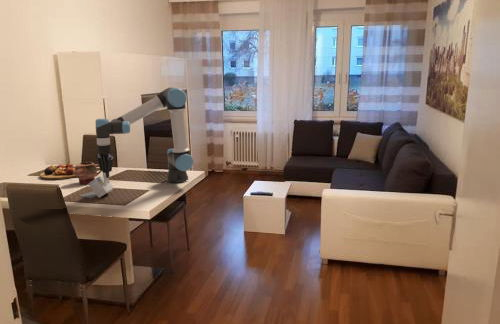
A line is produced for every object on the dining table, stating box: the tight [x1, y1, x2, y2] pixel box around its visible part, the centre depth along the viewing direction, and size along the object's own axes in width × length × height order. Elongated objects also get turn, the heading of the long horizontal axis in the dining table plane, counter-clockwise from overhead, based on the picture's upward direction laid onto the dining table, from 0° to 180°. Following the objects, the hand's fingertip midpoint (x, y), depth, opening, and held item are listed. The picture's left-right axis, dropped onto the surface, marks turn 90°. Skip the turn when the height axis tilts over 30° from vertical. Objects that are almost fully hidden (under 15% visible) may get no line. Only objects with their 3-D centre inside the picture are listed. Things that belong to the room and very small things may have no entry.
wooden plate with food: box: [39, 163, 78, 181], centre depth 288 cm, size 32×32×8 cm
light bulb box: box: [88, 174, 115, 198], centre depth 234 cm, size 11×7×11 cm
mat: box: [78, 189, 115, 199], centre depth 241 cm, size 11×18×1 cm, turn 152°
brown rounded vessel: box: [73, 161, 102, 185], centre depth 265 cm, size 20×12×14 cm, turn 138°
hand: (106, 182), depth 233 cm, fingers closed
